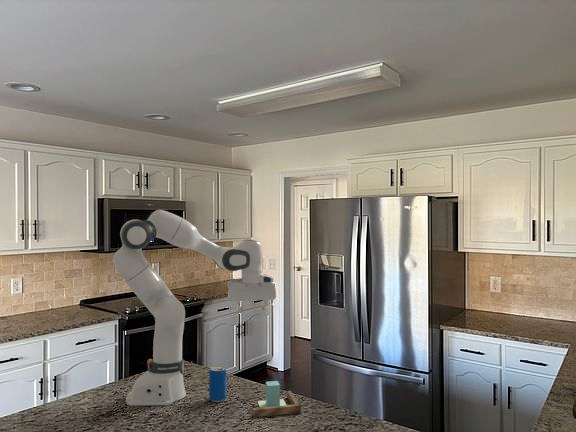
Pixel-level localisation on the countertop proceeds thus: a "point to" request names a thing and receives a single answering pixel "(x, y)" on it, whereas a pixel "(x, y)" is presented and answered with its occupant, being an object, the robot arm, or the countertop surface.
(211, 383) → the beverage can
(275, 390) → the teal block
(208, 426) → the countertop surface
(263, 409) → the corner walls
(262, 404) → the pad
